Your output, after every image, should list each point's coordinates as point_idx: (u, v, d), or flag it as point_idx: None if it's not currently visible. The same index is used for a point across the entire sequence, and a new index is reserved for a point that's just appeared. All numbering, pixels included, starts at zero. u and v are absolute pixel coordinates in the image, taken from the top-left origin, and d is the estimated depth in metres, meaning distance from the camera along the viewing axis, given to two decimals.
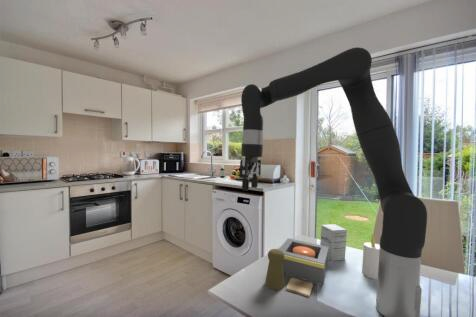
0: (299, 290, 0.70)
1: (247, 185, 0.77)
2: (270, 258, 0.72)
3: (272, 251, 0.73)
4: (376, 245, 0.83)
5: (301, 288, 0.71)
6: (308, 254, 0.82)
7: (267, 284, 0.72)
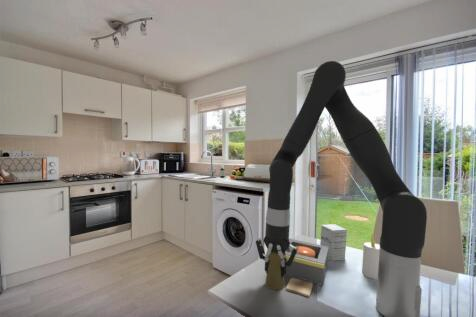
0: (299, 290, 0.70)
1: None
2: (270, 258, 0.72)
3: None
4: (376, 245, 0.83)
5: (301, 288, 0.71)
6: (308, 254, 0.82)
7: (267, 284, 0.72)
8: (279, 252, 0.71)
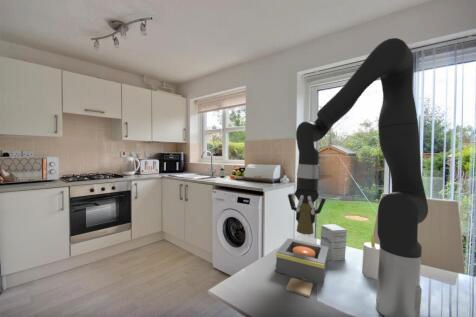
0: (299, 290, 0.70)
1: None
2: (301, 207, 0.83)
3: None
4: (376, 245, 0.83)
5: (301, 288, 0.71)
6: (308, 254, 0.82)
7: (299, 230, 0.83)
8: (309, 202, 0.82)
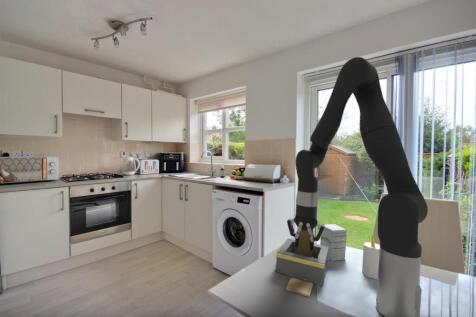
0: (299, 290, 0.70)
1: None
2: (300, 234, 0.83)
3: (302, 229, 0.84)
4: (376, 245, 0.83)
5: (301, 288, 0.71)
6: None
7: None
8: (308, 229, 0.82)
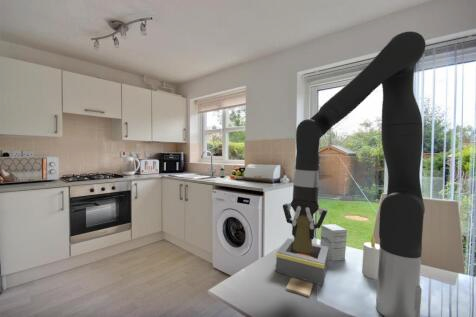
0: (299, 290, 0.70)
1: None
2: (298, 220, 0.70)
3: None
4: (376, 245, 0.83)
5: (301, 288, 0.71)
6: None
7: (295, 247, 0.71)
8: (308, 214, 0.70)
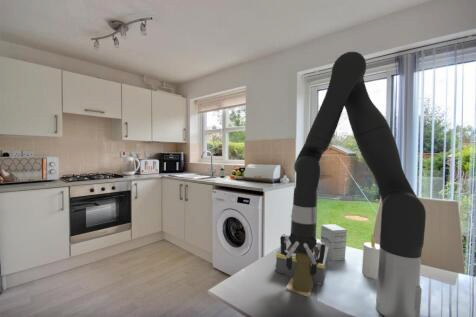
0: None
1: None
2: (298, 259, 0.70)
3: (300, 252, 0.71)
4: (376, 245, 0.83)
5: None
6: None
7: (295, 286, 0.70)
8: (307, 250, 0.70)
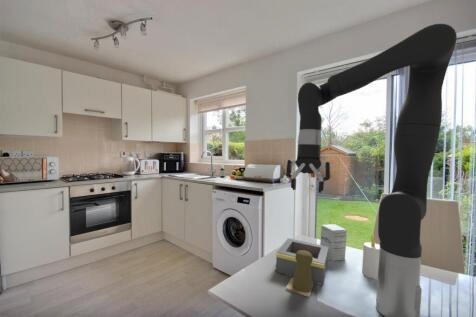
0: None
1: None
2: (298, 259, 0.70)
3: (300, 252, 0.71)
4: (376, 245, 0.83)
5: None
6: None
7: (295, 286, 0.70)
8: (313, 170, 0.75)
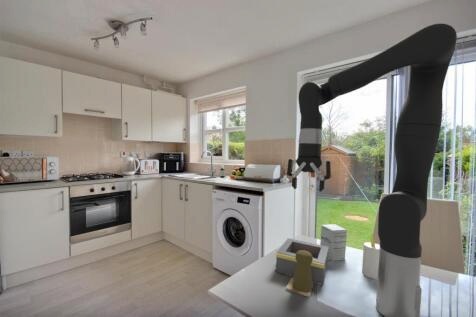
0: None
1: None
2: (298, 259, 0.70)
3: (300, 252, 0.71)
4: (376, 245, 0.83)
5: None
6: None
7: (295, 286, 0.70)
8: (314, 168, 0.76)
